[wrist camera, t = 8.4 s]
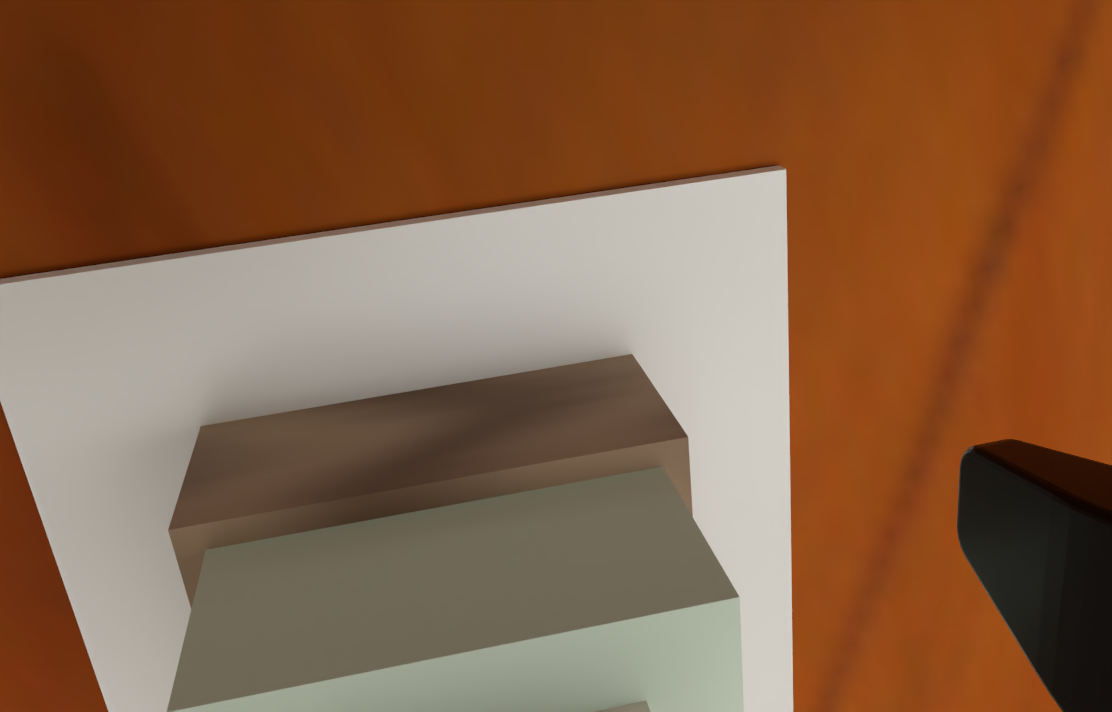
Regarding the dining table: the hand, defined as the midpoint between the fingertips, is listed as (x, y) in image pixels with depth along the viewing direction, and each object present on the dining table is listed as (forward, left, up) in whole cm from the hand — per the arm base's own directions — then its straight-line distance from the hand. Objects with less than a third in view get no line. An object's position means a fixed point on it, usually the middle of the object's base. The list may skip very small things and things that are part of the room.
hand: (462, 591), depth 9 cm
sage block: (0, +8, -8) cm, 12 cm away
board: (0, +8, -13) cm, 15 cm away
